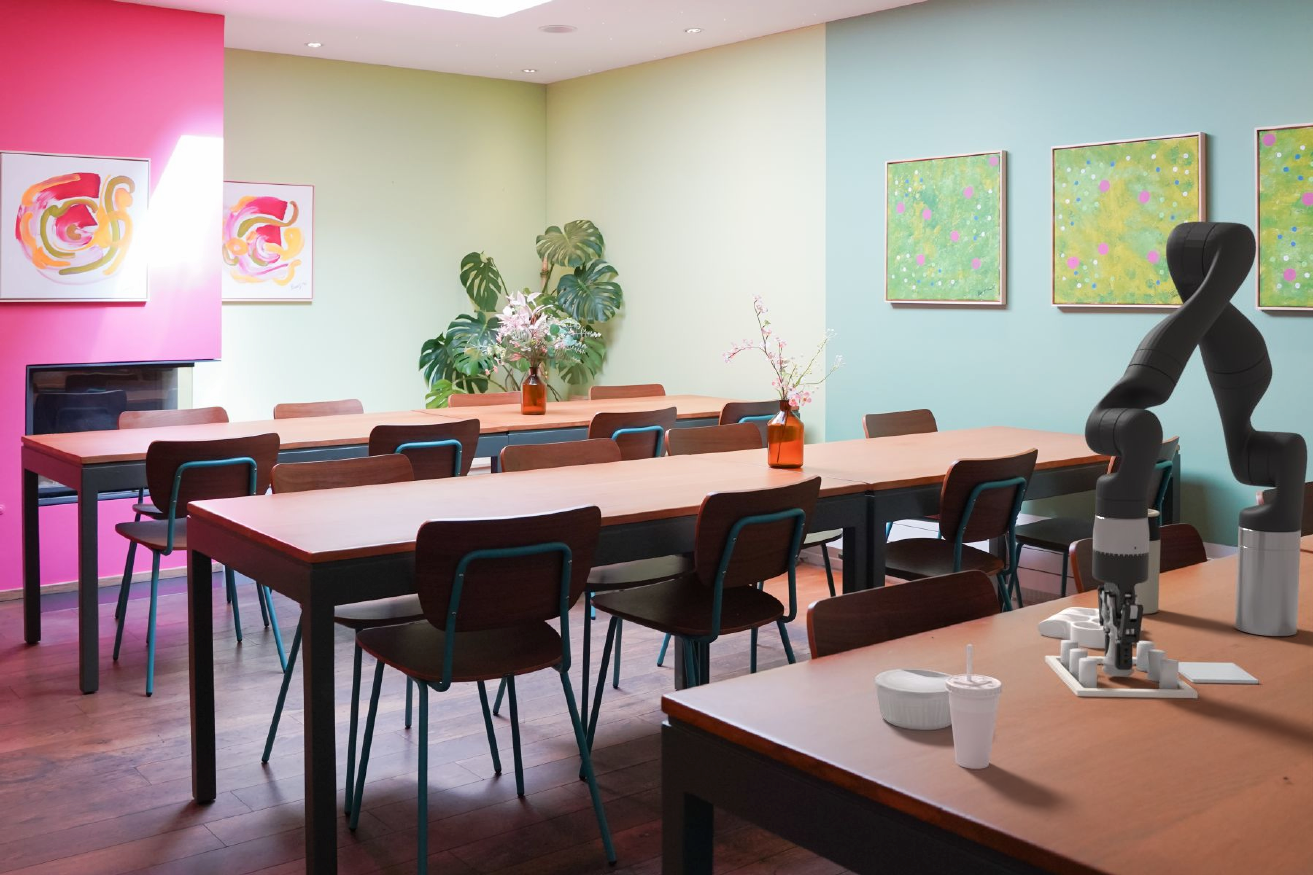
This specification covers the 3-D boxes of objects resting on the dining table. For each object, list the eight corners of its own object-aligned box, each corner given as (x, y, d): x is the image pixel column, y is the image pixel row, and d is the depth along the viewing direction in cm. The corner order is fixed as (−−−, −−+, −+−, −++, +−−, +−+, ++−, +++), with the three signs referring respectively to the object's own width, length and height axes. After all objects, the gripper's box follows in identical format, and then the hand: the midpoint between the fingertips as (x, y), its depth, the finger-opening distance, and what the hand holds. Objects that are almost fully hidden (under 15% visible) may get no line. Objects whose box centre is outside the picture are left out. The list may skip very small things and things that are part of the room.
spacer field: (1045, 660, 183) (1045, 634, 182) (1153, 662, 181) (1154, 636, 181) (1077, 696, 165) (1077, 667, 164) (1197, 698, 163) (1198, 669, 163)
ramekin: (966, 710, 159) (967, 671, 159) (958, 737, 148) (959, 695, 148) (881, 702, 163) (881, 664, 162) (868, 728, 152) (868, 687, 152)
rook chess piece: (1137, 677, 171) (1138, 622, 170) (1104, 676, 171) (1105, 621, 171) (1131, 669, 175) (1132, 615, 174) (1099, 667, 176) (1100, 614, 175)
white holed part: (1068, 619, 210) (1155, 632, 201) (1029, 641, 196) (1121, 655, 187) (1069, 601, 210) (1156, 612, 201) (1030, 620, 196) (1122, 634, 187)
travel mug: (1165, 615, 211) (1168, 514, 210) (1120, 615, 212) (1122, 514, 210) (1147, 605, 219) (1150, 507, 218) (1103, 605, 219) (1106, 507, 218)
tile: (1170, 665, 180) (1170, 661, 180) (1232, 666, 179) (1232, 662, 179) (1192, 682, 171) (1192, 679, 171) (1257, 683, 170) (1258, 680, 170)
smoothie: (936, 754, 142) (938, 638, 141) (989, 752, 143) (991, 636, 142) (954, 773, 136) (956, 652, 135) (1009, 771, 136) (1011, 651, 135)
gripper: (1164, 556, 164) (1161, 679, 166) (1132, 538, 178) (1129, 651, 180) (1108, 556, 165) (1105, 678, 166) (1080, 538, 179) (1078, 650, 180)
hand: (1118, 663), depth 173 cm, fingers closed on rook chess piece, 4 cm apart
